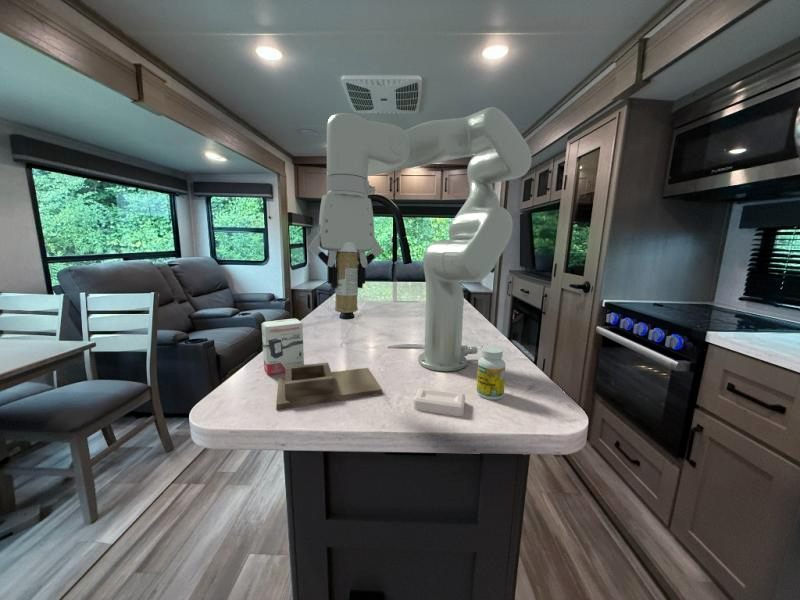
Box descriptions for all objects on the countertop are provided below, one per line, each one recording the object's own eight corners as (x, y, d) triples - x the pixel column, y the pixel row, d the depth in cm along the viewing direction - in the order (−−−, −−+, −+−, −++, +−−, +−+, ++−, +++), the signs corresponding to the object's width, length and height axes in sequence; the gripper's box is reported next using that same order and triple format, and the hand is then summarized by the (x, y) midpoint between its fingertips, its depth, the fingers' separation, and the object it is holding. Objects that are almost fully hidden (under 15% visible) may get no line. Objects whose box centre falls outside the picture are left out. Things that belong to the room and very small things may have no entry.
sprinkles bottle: (331, 310, 60) (331, 241, 58) (351, 308, 63) (352, 242, 61) (340, 314, 56) (340, 240, 54) (362, 312, 59) (363, 242, 57)
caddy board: (368, 371, 73) (367, 355, 72) (382, 393, 62) (382, 375, 61) (278, 382, 66) (277, 365, 66) (276, 409, 55) (275, 388, 54)
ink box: (267, 376, 70) (264, 326, 68) (263, 369, 74) (260, 321, 72) (304, 368, 74) (303, 321, 72) (299, 362, 78) (297, 317, 76)
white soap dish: (463, 418, 54) (463, 405, 53) (413, 411, 56) (413, 398, 56) (464, 404, 59) (465, 392, 58) (418, 398, 61) (419, 386, 61)
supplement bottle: (507, 393, 63) (510, 349, 61) (497, 403, 59) (500, 356, 57) (483, 386, 66) (485, 343, 64) (471, 394, 62) (474, 349, 60)
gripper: (383, 198, 63) (381, 285, 65) (298, 188, 57) (299, 285, 59) (396, 191, 56) (393, 289, 59) (301, 180, 50) (302, 290, 52)
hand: (346, 286), depth 59 cm, fingers closed on sprinkles bottle, 4 cm apart
